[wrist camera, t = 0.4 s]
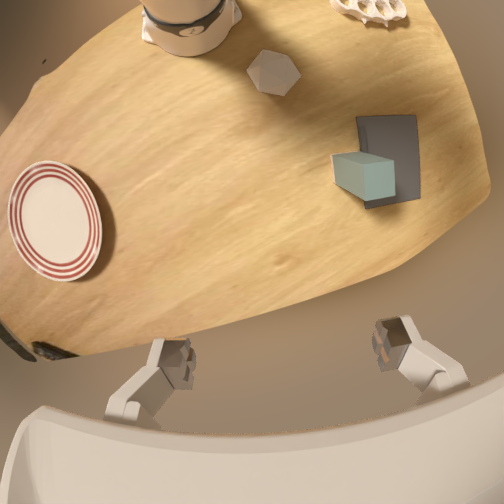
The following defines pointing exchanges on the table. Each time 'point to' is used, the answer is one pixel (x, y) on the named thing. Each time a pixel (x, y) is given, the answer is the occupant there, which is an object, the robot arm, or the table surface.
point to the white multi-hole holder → (372, 10)
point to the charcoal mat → (393, 152)
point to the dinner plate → (55, 221)
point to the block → (364, 174)
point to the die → (273, 72)
